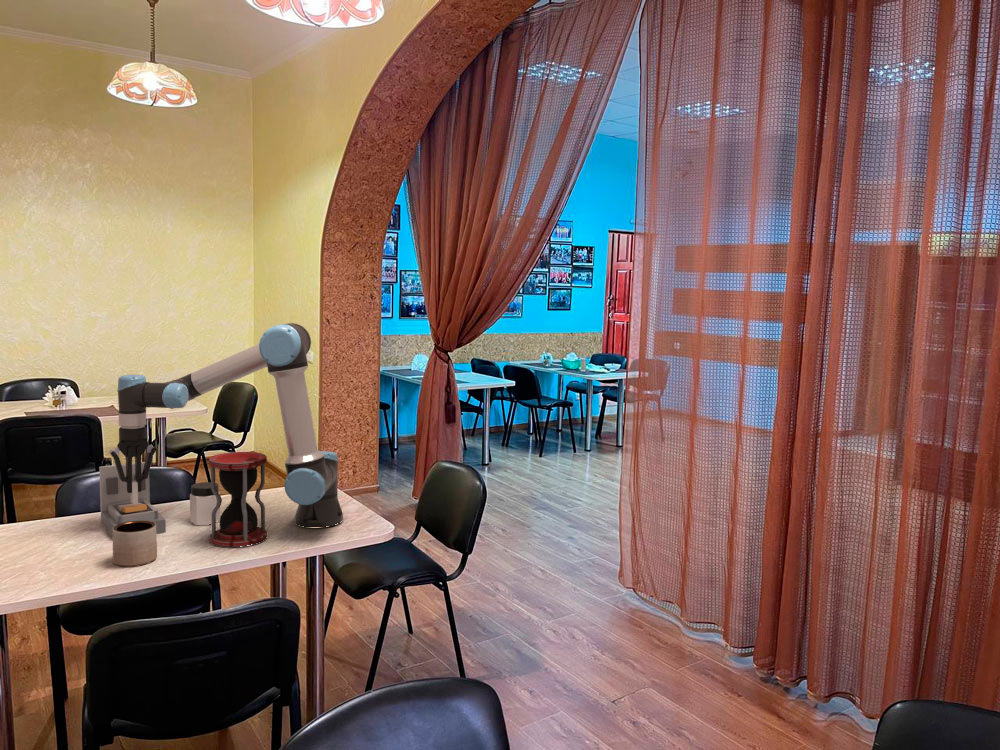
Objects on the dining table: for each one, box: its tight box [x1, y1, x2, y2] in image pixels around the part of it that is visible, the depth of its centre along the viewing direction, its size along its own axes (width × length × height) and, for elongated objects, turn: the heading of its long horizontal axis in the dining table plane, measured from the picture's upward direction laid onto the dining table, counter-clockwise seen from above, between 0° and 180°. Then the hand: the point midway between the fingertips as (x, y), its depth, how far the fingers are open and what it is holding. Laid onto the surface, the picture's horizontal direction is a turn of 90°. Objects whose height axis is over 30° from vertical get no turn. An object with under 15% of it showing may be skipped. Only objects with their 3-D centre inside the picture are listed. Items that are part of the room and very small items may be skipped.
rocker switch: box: [118, 503, 147, 513], centre depth 234 cm, size 10×6×2 cm, turn 38°
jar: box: [189, 481, 221, 526], centre depth 241 cm, size 9×8×12 cm
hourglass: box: [208, 451, 268, 548], centre depth 225 cm, size 16×16×25 cm
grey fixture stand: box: [98, 461, 167, 538], centre depth 234 cm, size 20×14×18 cm
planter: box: [112, 521, 158, 567], centre depth 207 cm, size 11×11×10 cm
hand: (134, 502), depth 231 cm, fingers closed
